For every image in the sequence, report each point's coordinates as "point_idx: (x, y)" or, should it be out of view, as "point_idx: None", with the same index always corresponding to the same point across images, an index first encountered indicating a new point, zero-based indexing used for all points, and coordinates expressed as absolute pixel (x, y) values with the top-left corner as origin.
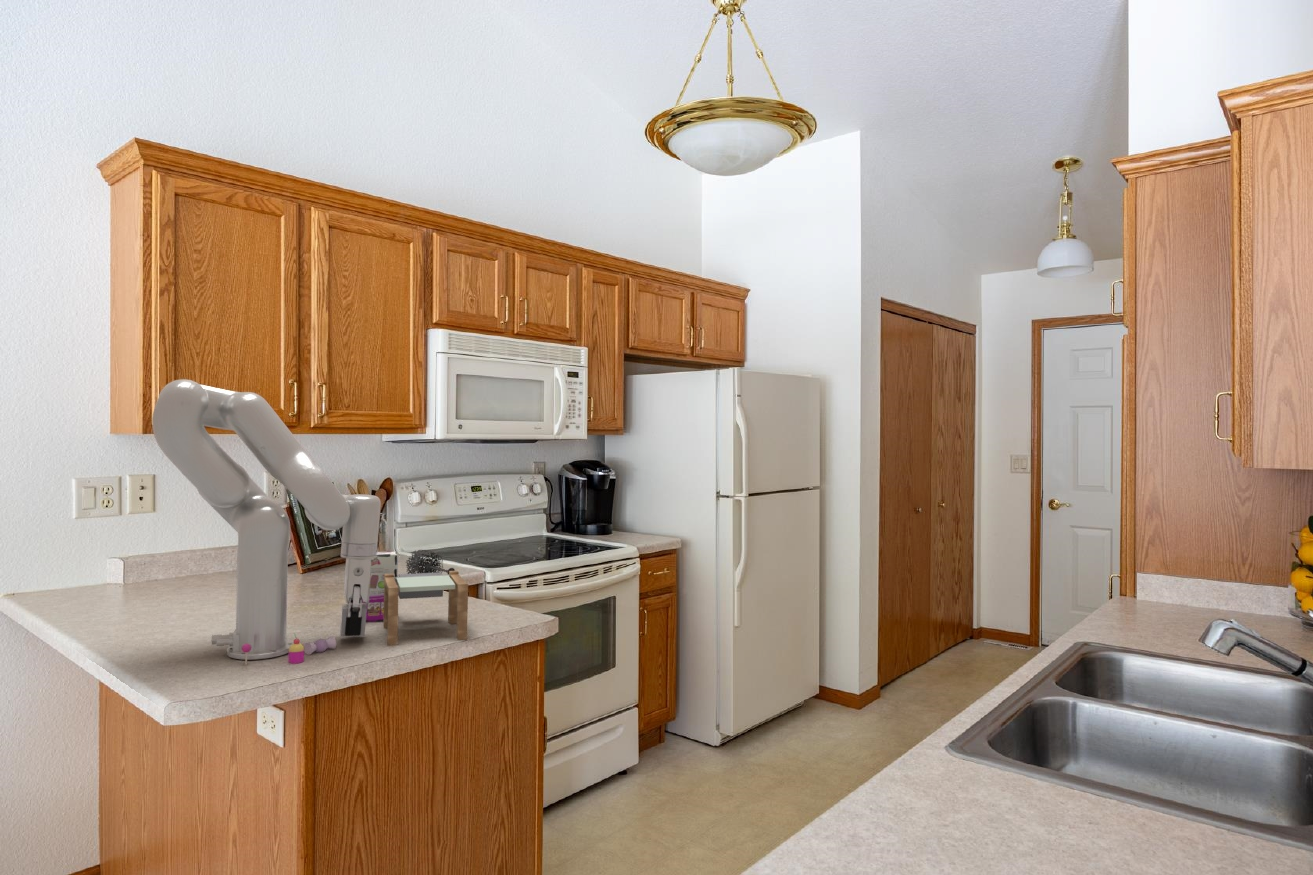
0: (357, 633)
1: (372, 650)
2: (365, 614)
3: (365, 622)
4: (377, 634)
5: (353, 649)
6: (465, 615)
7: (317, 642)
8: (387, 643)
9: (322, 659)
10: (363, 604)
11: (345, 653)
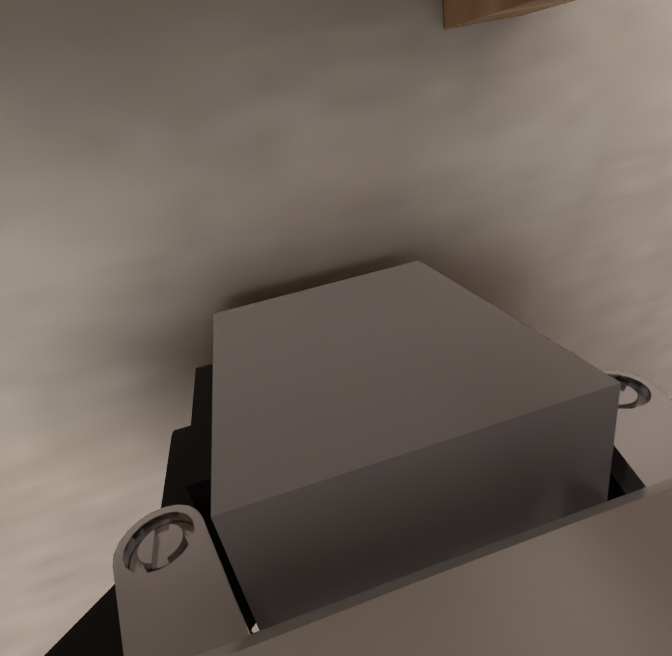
0: None
1: (614, 138)
2: (554, 350)
3: (484, 303)
4: (113, 180)
5: (545, 278)
6: None
7: None
8: (479, 22)
9: (660, 381)
10: (251, 541)
11: (608, 303)
